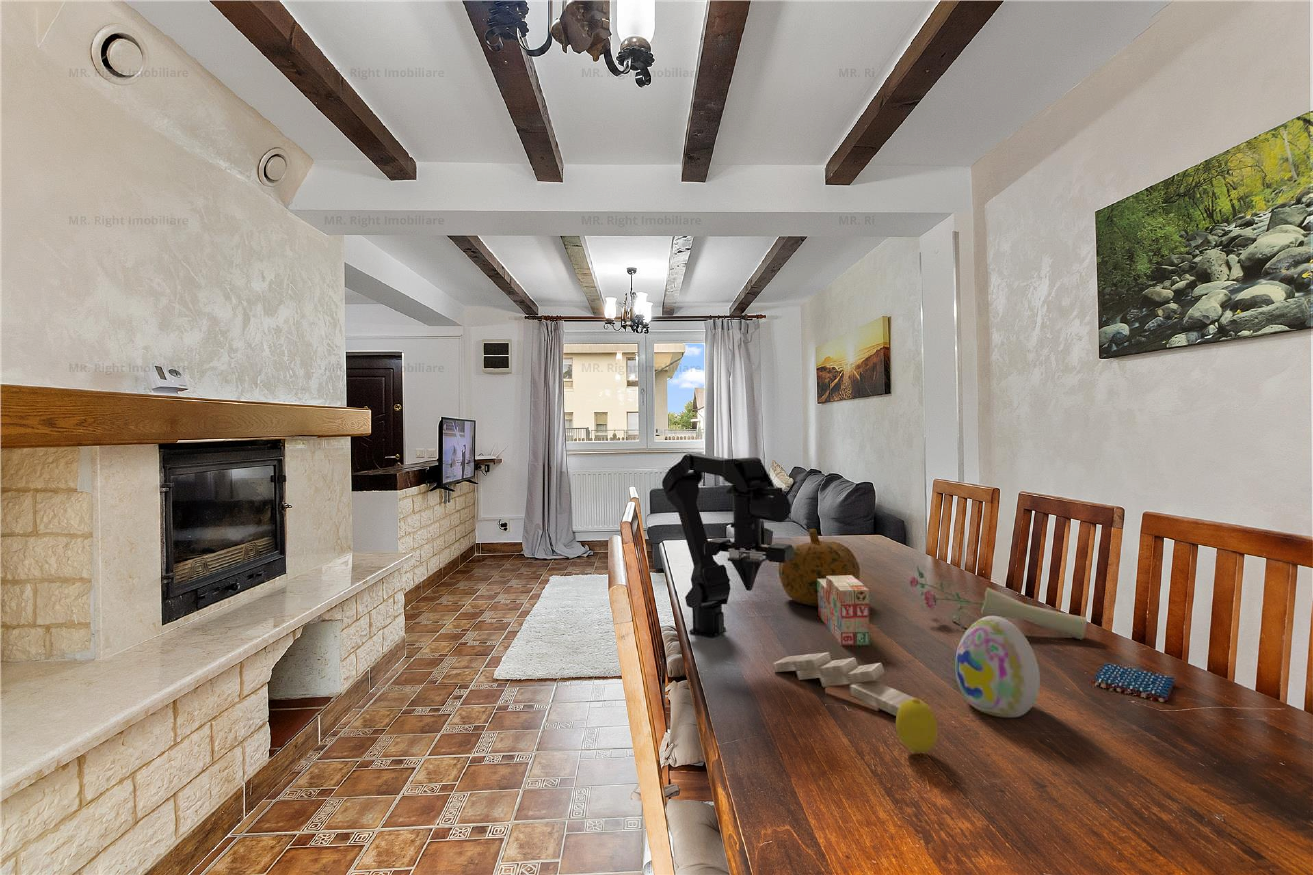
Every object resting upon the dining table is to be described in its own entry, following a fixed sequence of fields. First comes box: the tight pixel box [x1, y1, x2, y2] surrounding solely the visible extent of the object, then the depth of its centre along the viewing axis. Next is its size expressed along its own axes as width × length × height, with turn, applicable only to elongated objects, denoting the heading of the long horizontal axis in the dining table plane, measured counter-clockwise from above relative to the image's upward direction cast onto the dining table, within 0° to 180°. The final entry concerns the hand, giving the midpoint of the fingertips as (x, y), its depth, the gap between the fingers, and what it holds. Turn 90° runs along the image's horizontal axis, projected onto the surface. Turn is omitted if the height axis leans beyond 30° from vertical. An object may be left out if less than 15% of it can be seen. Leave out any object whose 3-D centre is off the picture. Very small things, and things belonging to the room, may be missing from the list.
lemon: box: [895, 697, 939, 755], centre depth 87 cm, size 6×6×8 cm
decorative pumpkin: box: [778, 528, 861, 607], centre depth 163 cm, size 20×21×20 cm
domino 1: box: [772, 652, 832, 673], centre depth 116 cm, size 2×5×10 cm
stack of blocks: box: [817, 575, 871, 646], centre depth 141 cm, size 21×6×12 cm, turn 178°
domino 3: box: [819, 662, 885, 688], centre depth 108 cm, size 2×5×10 cm
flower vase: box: [909, 565, 1087, 641], centre depth 138 cm, size 12×12×35 cm
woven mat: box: [1091, 662, 1176, 703], centre depth 107 cm, size 10×11×2 cm
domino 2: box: [795, 657, 859, 681], centre depth 112 cm, size 2×5×10 cm
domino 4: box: [824, 683, 881, 712], centre depth 106 cm, size 2×5×10 cm
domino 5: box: [850, 680, 922, 717], centre depth 102 cm, size 2×5×10 cm
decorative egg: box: [954, 615, 1041, 718], centre depth 101 cm, size 12×12×15 cm
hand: (749, 590), depth 128 cm, fingers closed
